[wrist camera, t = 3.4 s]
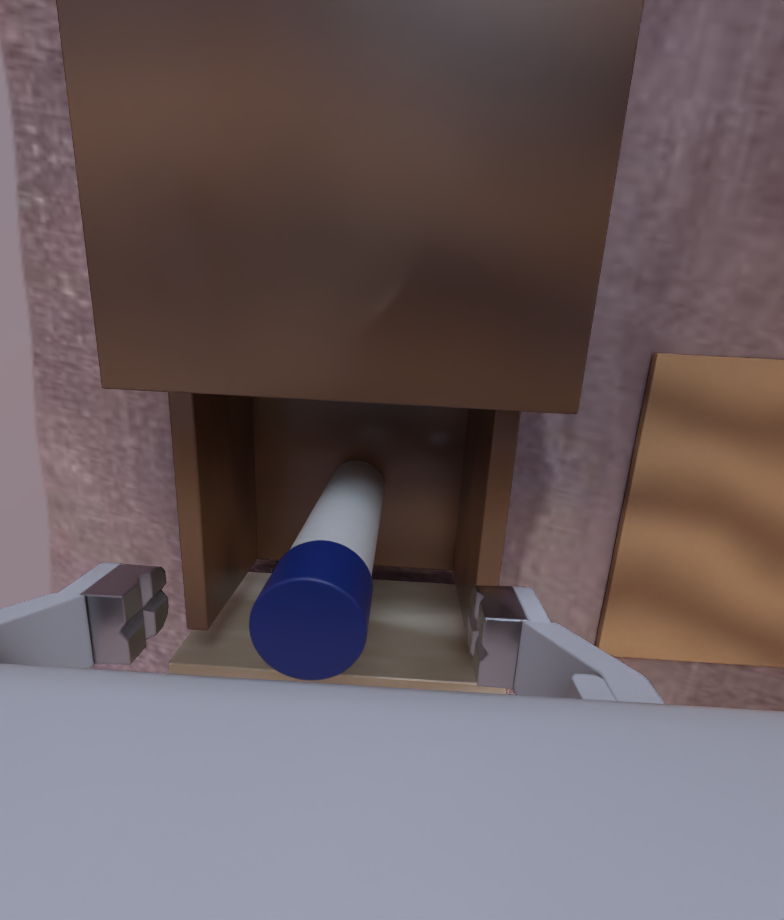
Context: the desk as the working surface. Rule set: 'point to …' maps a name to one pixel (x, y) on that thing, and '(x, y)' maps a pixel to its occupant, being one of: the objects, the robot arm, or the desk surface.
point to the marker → (323, 582)
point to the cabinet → (348, 193)
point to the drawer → (292, 500)
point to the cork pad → (702, 518)
